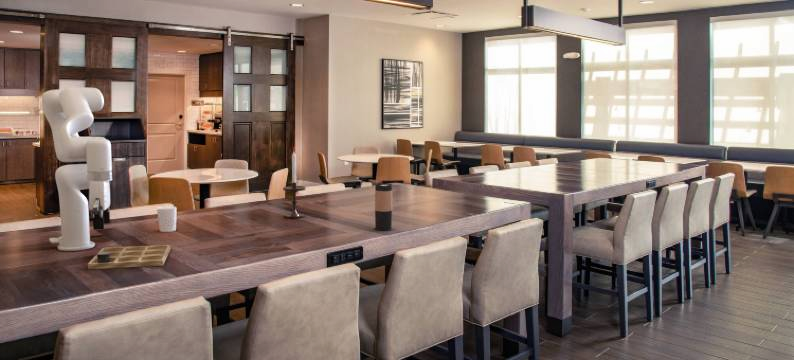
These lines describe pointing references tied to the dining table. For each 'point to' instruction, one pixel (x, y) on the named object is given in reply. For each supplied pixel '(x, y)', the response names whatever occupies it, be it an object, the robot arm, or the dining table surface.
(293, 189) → the candlestick
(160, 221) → the white cup
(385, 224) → the travel mug
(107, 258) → the metal cylinder
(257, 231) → the dining table surface
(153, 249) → the board
